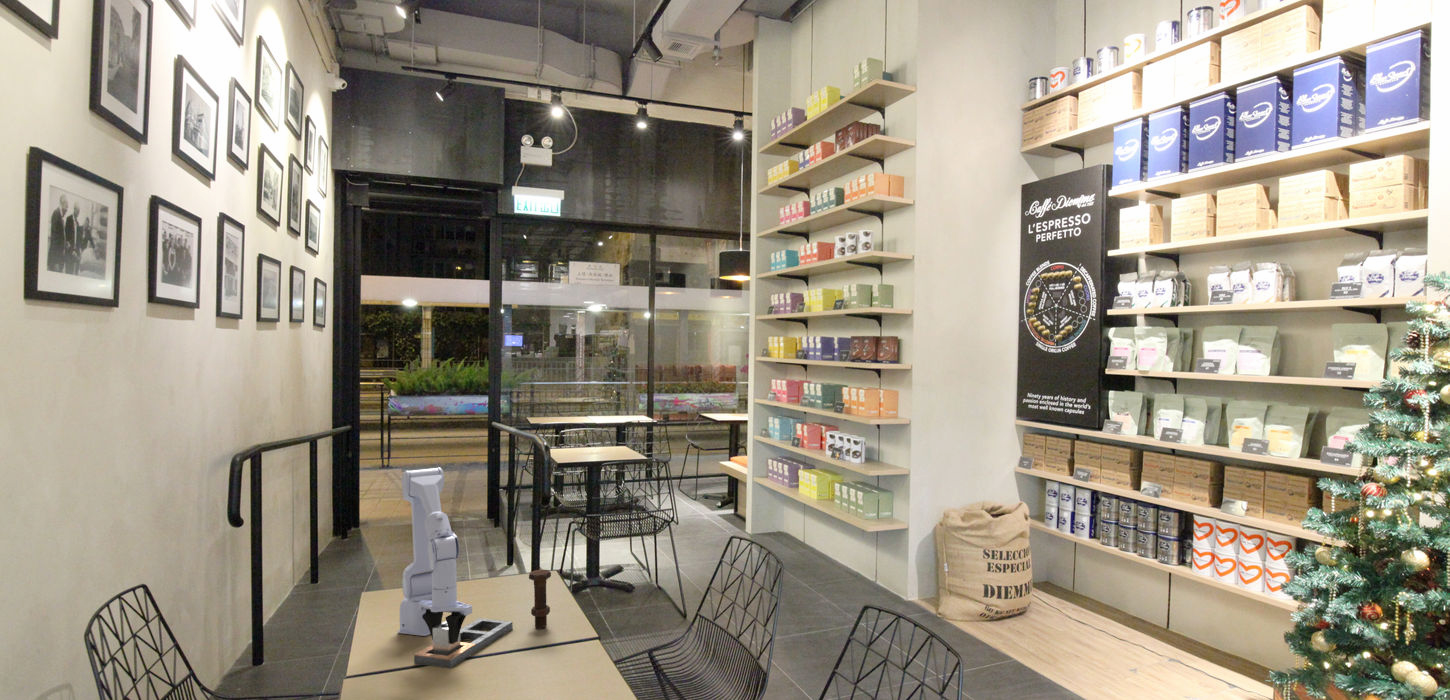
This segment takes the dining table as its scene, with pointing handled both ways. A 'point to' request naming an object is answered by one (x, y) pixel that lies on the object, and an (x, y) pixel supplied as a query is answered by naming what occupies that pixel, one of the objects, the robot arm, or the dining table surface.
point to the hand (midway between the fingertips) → (445, 641)
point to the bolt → (540, 597)
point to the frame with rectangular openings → (466, 649)
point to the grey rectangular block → (443, 640)
